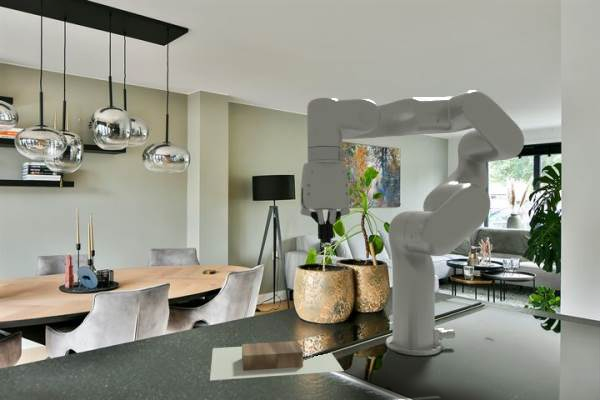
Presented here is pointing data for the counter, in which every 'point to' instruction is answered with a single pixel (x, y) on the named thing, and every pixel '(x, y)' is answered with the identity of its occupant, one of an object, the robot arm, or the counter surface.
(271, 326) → the counter surface
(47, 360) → the counter surface
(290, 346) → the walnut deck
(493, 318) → the counter surface
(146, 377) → the counter surface
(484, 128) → the robot arm
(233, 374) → the mat
